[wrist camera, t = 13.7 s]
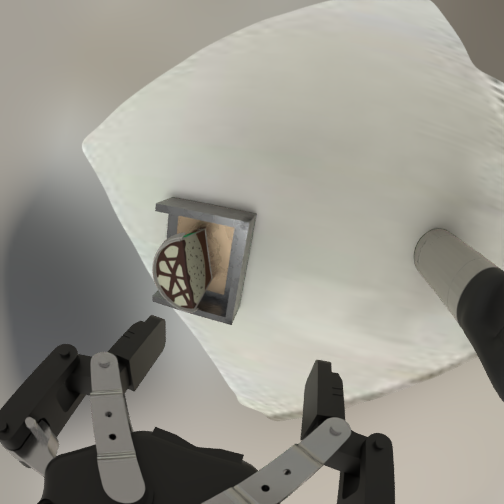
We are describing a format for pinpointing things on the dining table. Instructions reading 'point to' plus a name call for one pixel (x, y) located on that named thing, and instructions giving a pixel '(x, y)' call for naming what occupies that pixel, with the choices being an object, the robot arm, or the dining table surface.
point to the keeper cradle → (214, 252)
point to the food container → (183, 269)
